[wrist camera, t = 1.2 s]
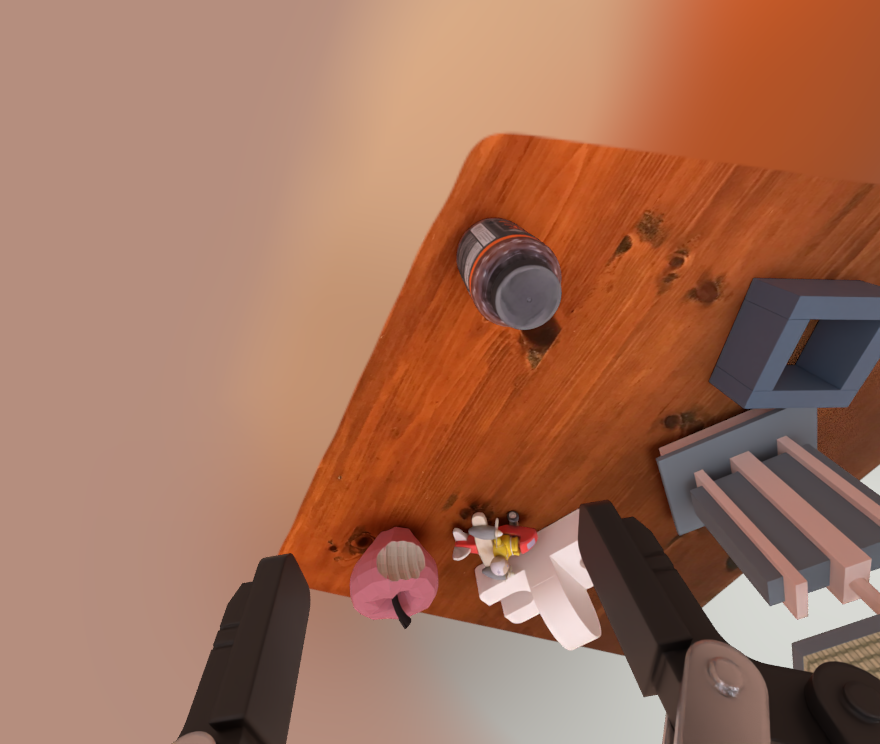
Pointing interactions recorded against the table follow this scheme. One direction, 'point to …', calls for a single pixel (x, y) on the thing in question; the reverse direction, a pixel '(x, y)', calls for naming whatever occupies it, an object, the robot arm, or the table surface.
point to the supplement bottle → (509, 274)
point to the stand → (777, 333)
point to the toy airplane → (494, 543)
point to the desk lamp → (783, 520)
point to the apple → (394, 577)
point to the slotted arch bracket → (548, 585)
